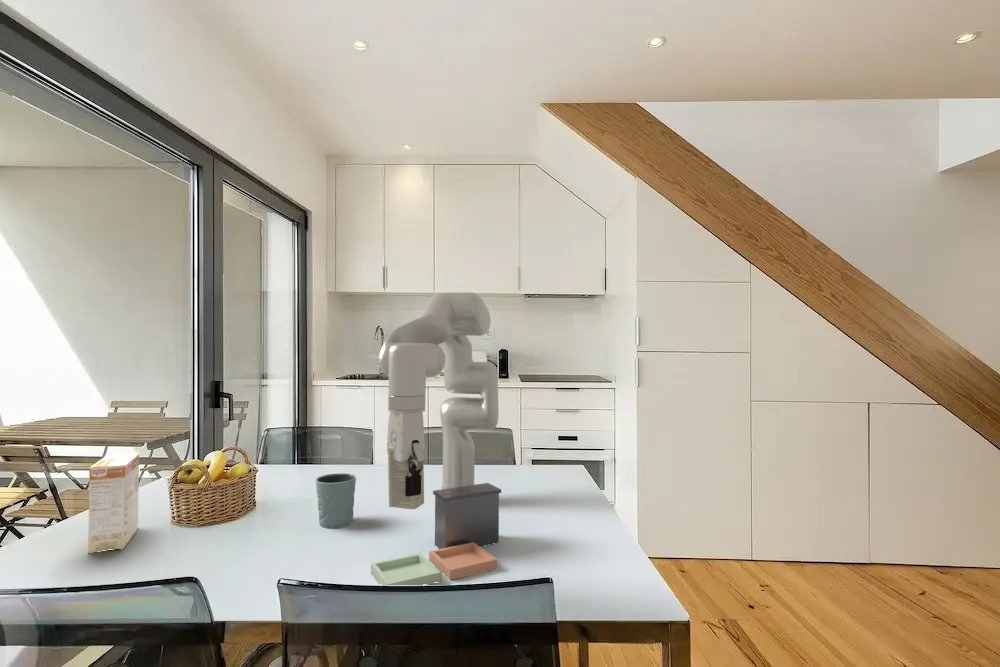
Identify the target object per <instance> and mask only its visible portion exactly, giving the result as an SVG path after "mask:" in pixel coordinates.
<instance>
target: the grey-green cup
mask: <svg viewBox="0 0 1000 667" xmlns="http://www.w3.org/2000/svg"><path fill="white" fill-rule="evenodd" d="M356 480H357V476H356V475H355V474H354V473H347V472H346V473H345V472H337V473H329V474H324V475H321V476H318V477H316V479H315V487H316V495H317V507H318V509H317V510H318V524H319V526H320V527H321V526H322V527H321V528H324V527H326V528H325V529H338V528H337V527H341V528H343V527H342V526H345V527H347V526H346V525H348V524H350V523H351V524H352V523H353V522H354V505H355V492H356ZM351 524H350V525H351ZM348 526H349V525H348Z"/></svg>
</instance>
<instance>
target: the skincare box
mask: <svg viewBox="0 0 1000 667" xmlns="http://www.w3.org/2000/svg"><path fill="white" fill-rule="evenodd" d="M393 450H394V449H393V448H392V447H389V448H388V454H387V459H388V460H387V462H388V463H387V464H388V468H387V471H388V472H387V473H388V474H387V478H388V507H389V508H396V509H398V508H399V509H404V510H405V509H407V510H416V509H417V508H420V507H421V506H423V505H424V504H425V483H424V482H425V479H424V478H425V476H424V473H425V472H424V470H425V469H424V468H425V467H424V463H423V466H422V467H423V468H422V475H421V494H420V495H416V496H409V497H407V496H405V476H407V471H406V465H405V461H404V463H400V462H398V461H396V460H395V459H393ZM411 459H415V457H414V454H413V452H412V456H411V457H410V458H408V460H411ZM413 464H415V463H413ZM413 464H410V467H412V465H413Z"/></svg>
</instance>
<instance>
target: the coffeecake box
mask: <svg viewBox="0 0 1000 667" xmlns="http://www.w3.org/2000/svg"><path fill="white" fill-rule="evenodd" d="M139 462H140V452H131V453H130V452H129V453H111V454H107V455H105V456H104V457H103V458H101V459H100V460H98V461H97V462H96V463H94V464H93V465H92V466H90V467H89V472H88V473H89V479H88V481H89V483H88V484H89V486H88V489H89V490H88V535H87V536H88V541H87V542H88V543H87V554H88V553H89V554H94V553H93V552H98V551H102V550H108V549H120V548H124V549H125V547H126V546H127V545H128V543H129V542H130V541H131V540H132V538H133V536H134V535H135V534H136V533H137V531H138V530H139V493H140V492H139V488H140V486H139V479H140V477H139V476H140V463H139ZM98 553H99V552H98Z"/></svg>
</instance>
